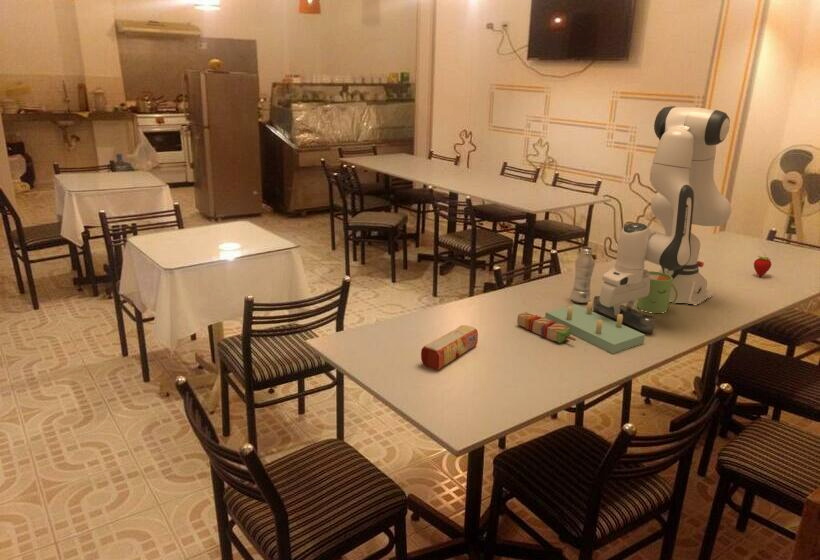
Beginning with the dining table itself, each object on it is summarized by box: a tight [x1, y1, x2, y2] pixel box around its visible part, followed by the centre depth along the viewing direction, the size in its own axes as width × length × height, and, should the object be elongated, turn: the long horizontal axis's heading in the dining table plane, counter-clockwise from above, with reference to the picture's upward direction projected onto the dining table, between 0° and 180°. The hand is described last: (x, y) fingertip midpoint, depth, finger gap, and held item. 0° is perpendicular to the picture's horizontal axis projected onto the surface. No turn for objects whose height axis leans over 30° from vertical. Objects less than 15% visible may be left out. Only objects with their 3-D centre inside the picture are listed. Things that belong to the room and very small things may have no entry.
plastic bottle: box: [570, 246, 596, 304], centre depth 213 cm, size 6×7×20 cm
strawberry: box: [753, 253, 772, 277], centre depth 245 cm, size 6×8×10 cm
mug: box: [635, 270, 678, 313], centre depth 210 cm, size 13×10×12 cm
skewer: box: [516, 311, 577, 344], centre depth 189 cm, size 21×6×5 cm, turn 40°
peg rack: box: [544, 300, 646, 355], centre depth 191 cm, size 14×28×7 cm, turn 32°
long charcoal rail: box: [592, 295, 656, 333], centre depth 199 cm, size 4×23×4 cm, turn 32°
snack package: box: [420, 324, 479, 371], centre depth 174 cm, size 21×7×7 cm, turn 143°
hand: (622, 313), depth 199 cm, fingers closed on long charcoal rail, 3 cm apart
